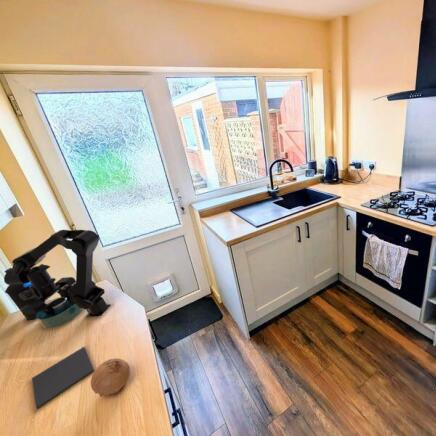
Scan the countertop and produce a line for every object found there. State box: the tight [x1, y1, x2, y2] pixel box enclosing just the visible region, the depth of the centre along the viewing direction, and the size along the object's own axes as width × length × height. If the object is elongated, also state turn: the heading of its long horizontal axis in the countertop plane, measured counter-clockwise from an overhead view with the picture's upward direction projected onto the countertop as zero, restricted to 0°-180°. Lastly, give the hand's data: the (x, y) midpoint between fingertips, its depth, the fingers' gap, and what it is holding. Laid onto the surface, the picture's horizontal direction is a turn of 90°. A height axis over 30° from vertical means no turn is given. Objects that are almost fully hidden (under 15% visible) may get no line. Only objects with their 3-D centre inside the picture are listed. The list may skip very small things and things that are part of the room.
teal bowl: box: [36, 299, 84, 329], centre depth 105 cm, size 14×14×6 cm
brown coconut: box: [90, 357, 131, 397], centre depth 73 cm, size 10×9×10 cm
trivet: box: [31, 346, 95, 410], centre depth 80 cm, size 14×14×1 cm
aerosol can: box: [4, 282, 41, 322], centre depth 104 cm, size 8×8×20 cm
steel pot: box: [47, 296, 72, 317], centre depth 104 cm, size 7×7×7 cm
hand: (60, 309), depth 104 cm, fingers closed on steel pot, 6 cm apart
